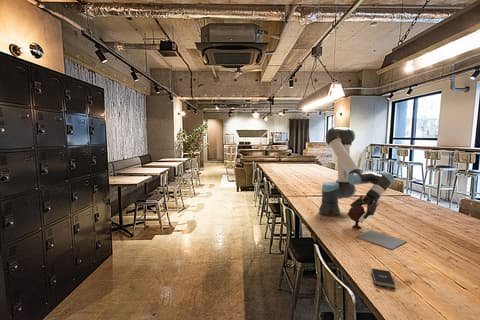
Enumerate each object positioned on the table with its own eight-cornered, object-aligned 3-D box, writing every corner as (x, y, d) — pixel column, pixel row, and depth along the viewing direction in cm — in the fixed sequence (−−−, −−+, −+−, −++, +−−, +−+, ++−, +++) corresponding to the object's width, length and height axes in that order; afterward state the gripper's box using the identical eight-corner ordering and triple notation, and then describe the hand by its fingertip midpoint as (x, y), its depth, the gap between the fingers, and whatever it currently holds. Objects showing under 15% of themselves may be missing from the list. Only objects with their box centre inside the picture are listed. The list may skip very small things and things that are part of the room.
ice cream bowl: (364, 225, 165) (365, 203, 164) (367, 232, 155) (368, 207, 153) (347, 224, 169) (348, 201, 167) (348, 229, 158) (349, 206, 157)
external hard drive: (374, 286, 99) (375, 281, 99) (371, 272, 110) (371, 267, 109) (395, 290, 97) (395, 285, 97) (389, 275, 107) (389, 270, 107)
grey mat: (355, 237, 147) (355, 236, 147) (370, 231, 156) (370, 230, 156) (391, 250, 130) (392, 248, 130) (406, 242, 140) (407, 241, 140)
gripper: (358, 185, 173) (338, 209, 171) (386, 193, 151) (363, 220, 148) (365, 193, 175) (344, 216, 173) (393, 201, 153) (370, 228, 150)
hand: (353, 218), depth 161 cm, fingers closed on ice cream bowl, 11 cm apart
